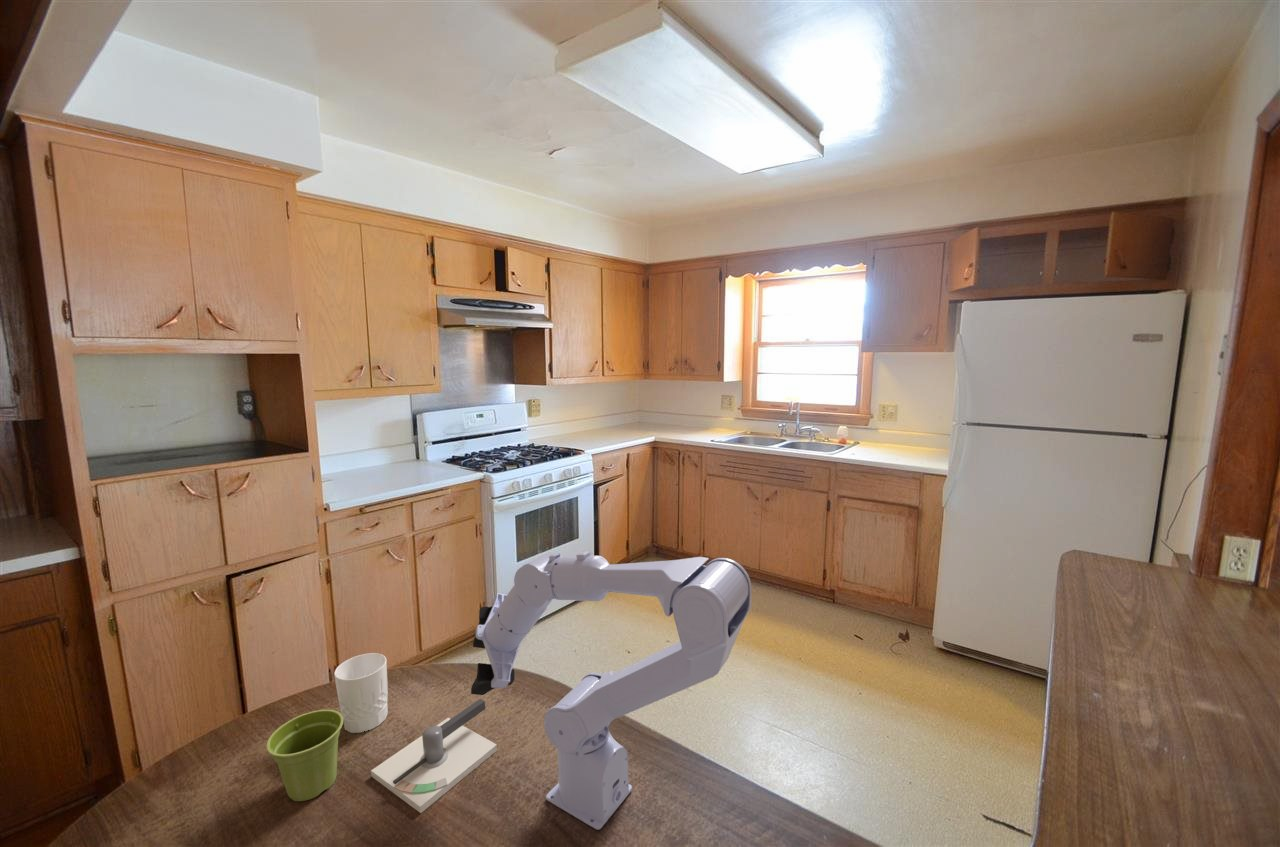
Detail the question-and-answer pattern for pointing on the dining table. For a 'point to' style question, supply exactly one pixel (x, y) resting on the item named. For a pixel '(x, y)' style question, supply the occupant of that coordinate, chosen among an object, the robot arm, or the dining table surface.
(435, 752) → the grey dial pointer
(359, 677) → the white cup
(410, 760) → the board
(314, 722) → the plant pot
